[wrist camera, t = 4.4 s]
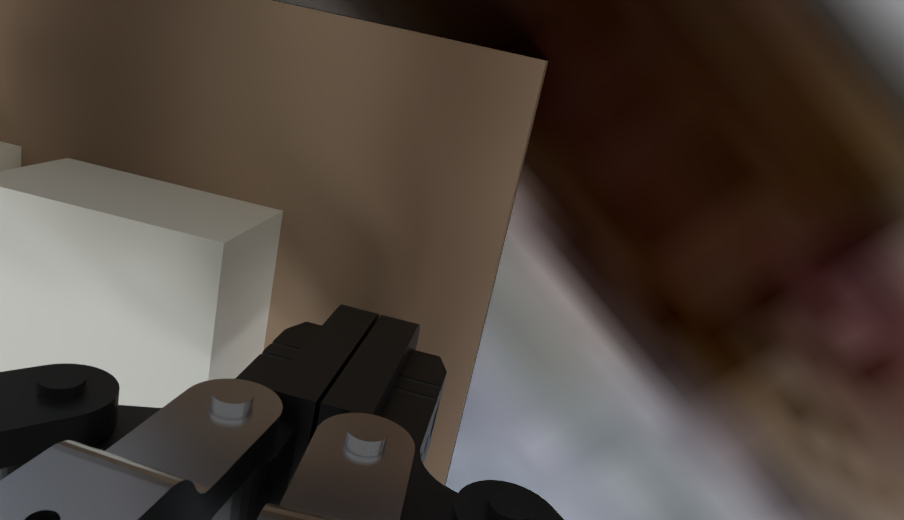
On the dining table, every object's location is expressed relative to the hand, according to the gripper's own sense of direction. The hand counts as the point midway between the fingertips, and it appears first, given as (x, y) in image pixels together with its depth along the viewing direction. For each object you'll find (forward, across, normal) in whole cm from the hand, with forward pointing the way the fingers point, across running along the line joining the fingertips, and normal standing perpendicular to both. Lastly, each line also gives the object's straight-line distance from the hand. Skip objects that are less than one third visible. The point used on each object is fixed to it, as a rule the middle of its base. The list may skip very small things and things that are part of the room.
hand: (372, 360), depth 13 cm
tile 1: (+1, +5, 0) cm, 5 cm away
